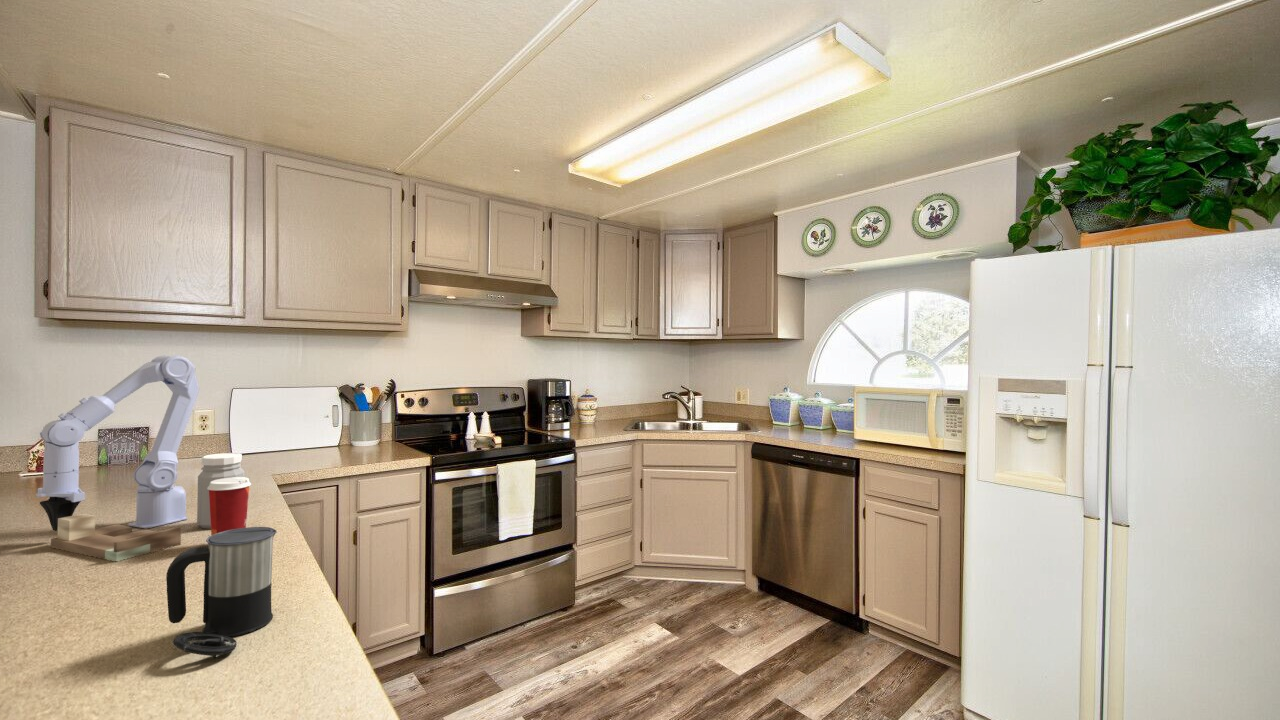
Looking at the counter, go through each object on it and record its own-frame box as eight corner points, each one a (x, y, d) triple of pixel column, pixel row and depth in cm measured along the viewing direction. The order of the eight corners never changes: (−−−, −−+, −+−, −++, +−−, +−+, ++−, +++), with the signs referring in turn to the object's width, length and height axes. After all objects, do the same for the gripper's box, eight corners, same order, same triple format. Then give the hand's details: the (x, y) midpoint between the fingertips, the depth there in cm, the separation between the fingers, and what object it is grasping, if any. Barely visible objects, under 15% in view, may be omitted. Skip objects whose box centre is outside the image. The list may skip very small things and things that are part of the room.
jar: (187, 527, 139) (188, 457, 139) (226, 517, 148) (227, 451, 148) (215, 531, 136) (216, 459, 136) (253, 520, 145) (254, 453, 145)
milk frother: (264, 606, 95) (265, 522, 95) (297, 636, 85) (298, 542, 85) (156, 638, 84) (158, 542, 84) (179, 676, 74) (181, 567, 74)
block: (83, 532, 127) (83, 513, 127) (94, 534, 126) (95, 515, 126) (57, 538, 123) (57, 518, 123) (69, 540, 122) (69, 520, 122)
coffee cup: (258, 539, 130) (259, 477, 130) (229, 551, 122) (230, 484, 122) (226, 537, 131) (227, 475, 131) (195, 549, 123) (196, 483, 123)
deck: (116, 532, 134) (117, 516, 134) (180, 544, 126) (180, 527, 126) (50, 547, 123) (51, 530, 123) (116, 561, 115) (116, 543, 115)
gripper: (19, 472, 125) (18, 530, 125) (56, 477, 121) (55, 538, 120) (60, 466, 132) (59, 522, 132) (96, 471, 127) (95, 529, 127)
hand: (60, 529), depth 127 cm, fingers closed
